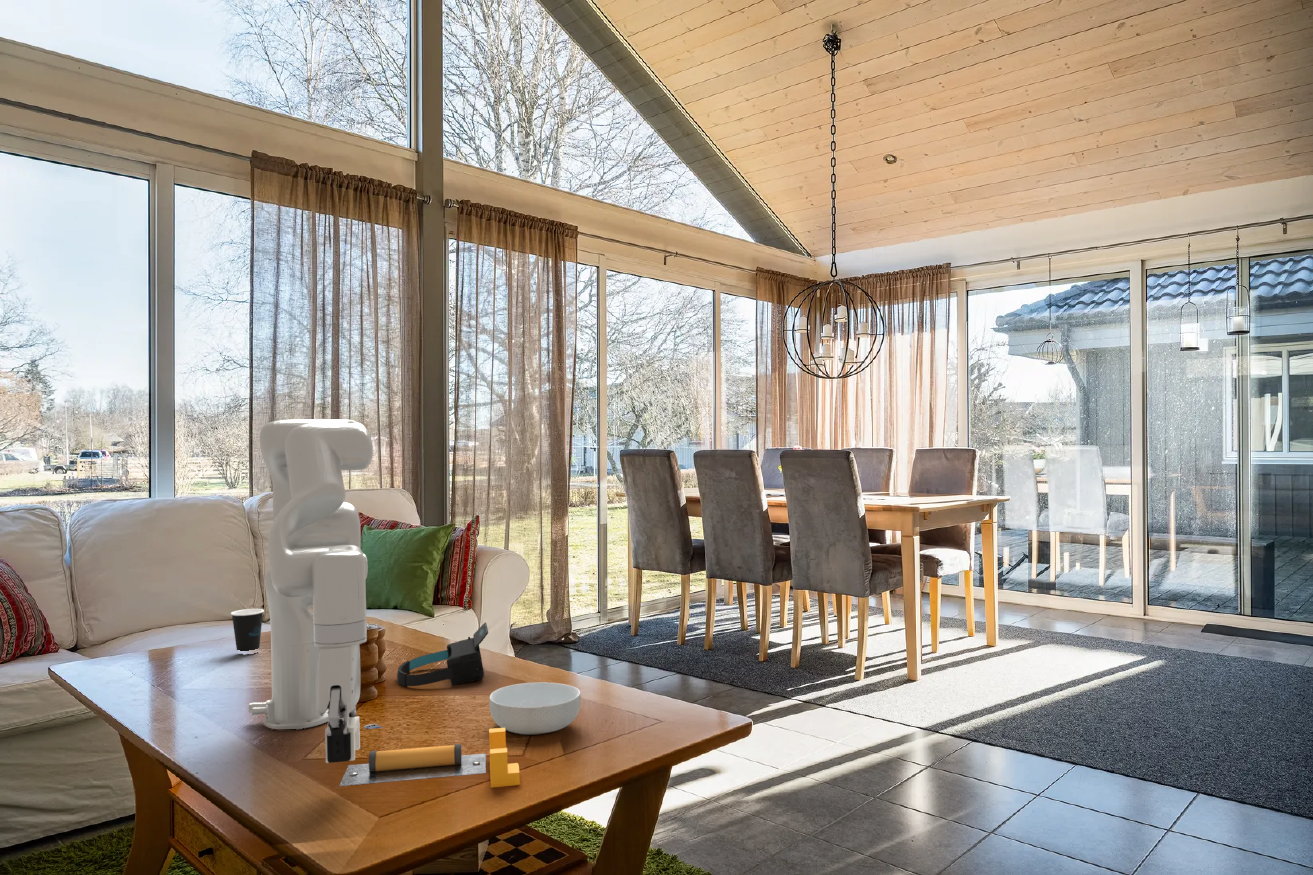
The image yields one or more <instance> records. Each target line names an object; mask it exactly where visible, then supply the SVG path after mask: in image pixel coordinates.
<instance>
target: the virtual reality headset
mask: <svg viewBox="0 0 1313 875" xmlns="http://www.w3.org/2000/svg"><path fill="white" fill-rule="evenodd" d="M488 634H489V629H488V625H487V622H486V621H485V622H484V623H483V624H482V625H481V626H480V627H479V628H478V629H476V631H475V632H474V633H473V636H472V637H471V636H468V637H467V639H461V640H459V641H455V642H452V643H449V644H447V645H446V649H444V650H441V651H435V652H432V653H428V654H424V655H421V656H418V657H415V658H413V659H411V660H406V661H405V662H403V663H402V664H400V666H399V667H398V668H397V673H396V678H397V679H396V680H397V683H398V684H399V685H401V686H402V687H405V688H406V687H418V686H425V685H431V684H433V683H434V684H435V683H438V682H442V681H443V682H444V681H447V680H450V683H451V685H459V684H464V683H465V684H466V683H471V682H474V681H477V680H482V679H483V678H484V677H485V672H484V665H483V660H482V659H483V658H482V655H481V650H480V649H481V647H480V644H481V643H483V641H484V639H485V638H486V637H487V635H488ZM441 661H446V667H445V668H442V669H438V670H434V671H431V672H426V673H419V674H410V672H411V671H413V670H414V669H415V670H416V669H417V668H420V667H422V666H426V665H430V664H433V663H437V662H441Z"/></svg>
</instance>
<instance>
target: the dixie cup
mask: <svg viewBox="0 0 1313 875" xmlns="http://www.w3.org/2000/svg"><path fill="white" fill-rule="evenodd" d="M264 612H265V610H264V609H262V608H245V609H238V610H234V611H231V612H230V616H231V617H232V624H233V626H232V627H233V631H234V632H233V634H234V640H235V647H236V651H237V650H240V651H249V650H255V649H258V648H259V649H260V644H261V634H262V626H263V613H264ZM259 649H258V650H259Z"/></svg>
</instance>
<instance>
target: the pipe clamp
mask: <svg viewBox="0 0 1313 875" xmlns="http://www.w3.org/2000/svg"><path fill="white" fill-rule="evenodd" d="M488 732H489V734H488V740H489V742H488V743H489V745H488V746H489V776H490V777H489V778H490V789H493V788H502V787H510V786H519V785H520V784H521V780H520V777H521V776H520V766H519V763H518V762H515V763H514V762H512V763H509V762H508V759H509V758H508V747H507V741H506V739H507V738H506V736H507V735H506V734H507V733H506V730H505V728H501V727H496V728H489V730H488ZM520 786H521V785H520Z"/></svg>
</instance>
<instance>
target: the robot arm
mask: <svg viewBox="0 0 1313 875" xmlns="http://www.w3.org/2000/svg"><path fill="white" fill-rule="evenodd" d="M259 447H260V452H261V455H262V458H263V460H264V462H265V463H264V464H265V465H266V467H267V470H268V472H269V475H270V478H271V482H272V520H273V521H272V525H271V527H270V530H269V534H268V539H267V540H268V541H267V550H268V551H267V552H268V561H269V567H268V568H267V569H266V572H265V575H264V588H265V594H266V599H267V605H268V611H269V612H268V613H269V622H270V624H269V625H270V656H271V657H270V658H271V659H270V660H271V661H270V663H271V664H270V666H271V699H267V700H266V701H264V702H260V701H258V702H257V701H256V702H249V704H248V713H250V714H251V715H253V716H254V715H255V716H256V715H263V714H264V715H265V717H264V718H263V726H264V725H266V726H268V727H270V728H274V729H296V730H302V729H303V728H304V729H308V728H313V727H316V726H319V725H323V724H324V723H325V724H326V723H327V726H328V730H327V760H328V762H329V763H328V764H330V763H331V764H332V763H343V762H350V761H349V760H350V759H351V733H350V732H349V733H348V724H349V717H357V708H356V707H357V703H358V702H359V700H360V697H361V696H360V695H361V652H360V651H361V648H360V645H362V644H364V643H366V642H367V640H368V639H367V638H368V636H367V634H368V633H367V631H368V629H367V598H366V597H367V593H366V592H367V590H366V589H367V588H366V586H367V585H366V579H367V577H368V572H369V566H368V565H369V564H368V558H367V555H366V554H365V553H364V552H363V550H362V549H361V534H362V533H361V520H360V515H359V513H358V510H357V508H356V507H355V505H353V504H351V503H349V502H346V501H345V500H346V489H345V484H344V479H343V473H342V471H362V470H365V469H367V468H368V467H369V466H370V464H372V461H373V455H374V446H373V441H372V438H371V434H370V432H369V431H368V428H367V427H366V426H365V425H364V424H362V423H360V422H358V421H356V420H353V419H309V418H308V419H307V418H305V419H304V418H298V419H295V418H294V419H278V420H274V421H269V422H268V423H267V422H266V424H264V425H263V426H262V427H261V429H260V431H259ZM309 608H312V612H313V613H311V611H310V610H309ZM340 718H344V721H343V720H342V719H340ZM343 722H344V724H343Z"/></svg>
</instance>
